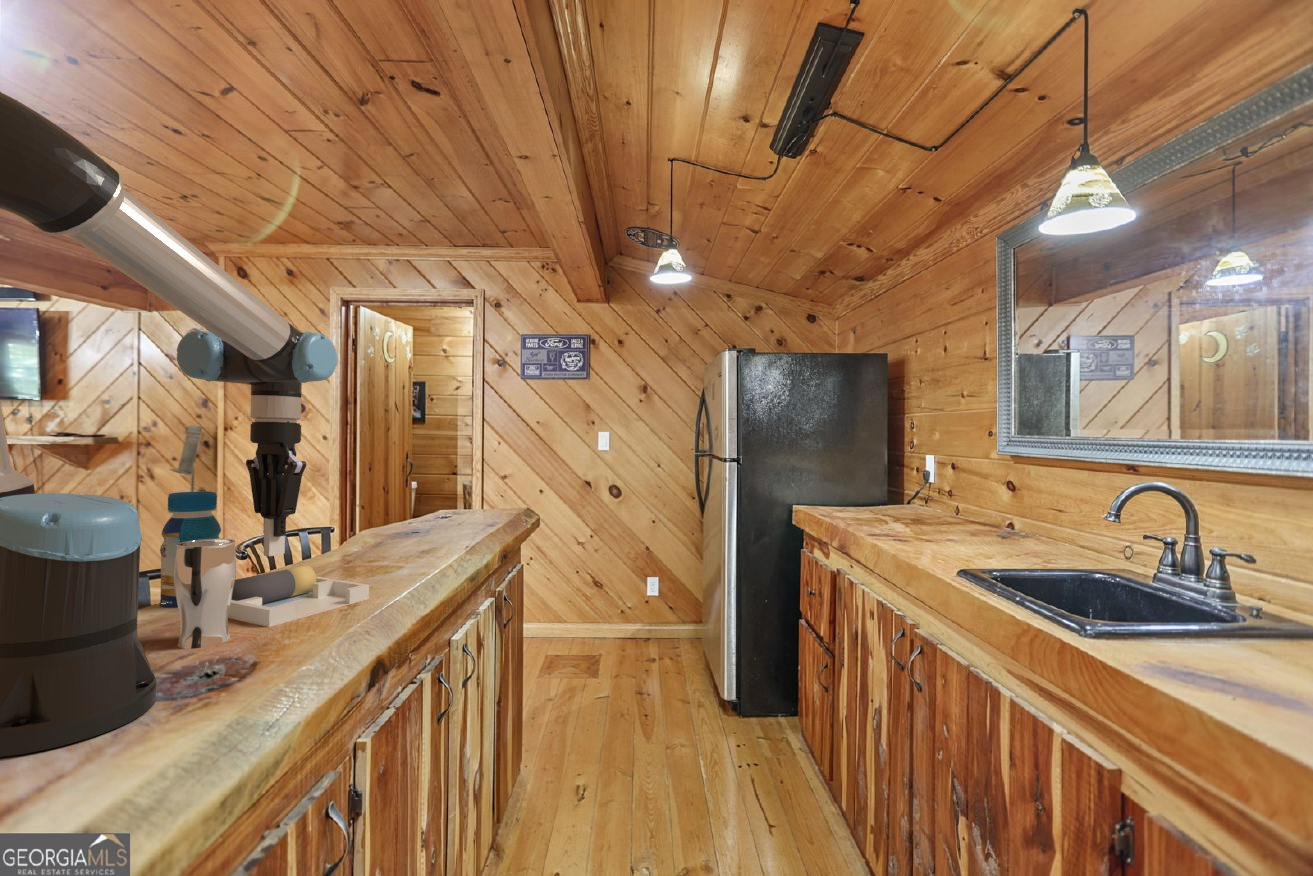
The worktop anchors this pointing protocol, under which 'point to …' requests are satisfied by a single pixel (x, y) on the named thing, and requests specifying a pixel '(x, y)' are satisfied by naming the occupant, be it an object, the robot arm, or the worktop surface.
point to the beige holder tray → (299, 603)
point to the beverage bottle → (185, 533)
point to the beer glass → (204, 590)
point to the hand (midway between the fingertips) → (274, 554)
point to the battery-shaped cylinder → (275, 584)
